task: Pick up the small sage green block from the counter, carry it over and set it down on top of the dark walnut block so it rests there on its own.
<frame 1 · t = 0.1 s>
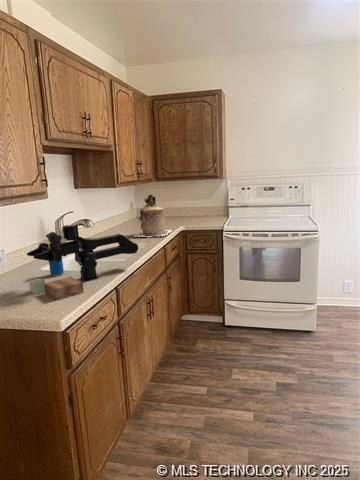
hand: (30, 255, 150), 17 cm above the table, tool horizontal, fingers open, 9 cm apart
cookie jar: (153, 235, 274), on the table
beverage can: (57, 275, 180), on the table
walnut block: (64, 293, 151), on the table
sage green block: (38, 291, 155), on the table
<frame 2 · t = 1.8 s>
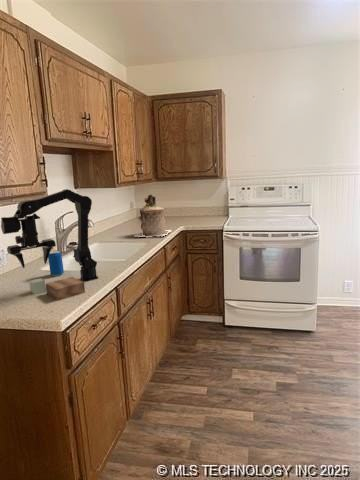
hand: (34, 265, 153), 12 cm above the table, tool pointing down, fingers open, 9 cm apart
nothing on the table moved.
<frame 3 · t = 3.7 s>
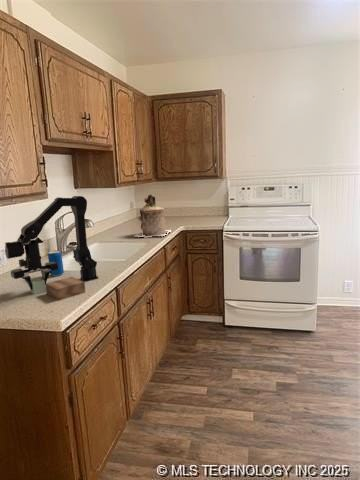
hand: (37, 288, 155), 1 cm above the table, tool pointing down, fingers closed on sage green block, 5 cm apart
sage green block: (38, 291, 155), on the table, touching gripper
everything else where it was.
when the fingers open (7 cm above the table, at t = 7.9 s): sage green block drops 1 cm, resting on walnut block.
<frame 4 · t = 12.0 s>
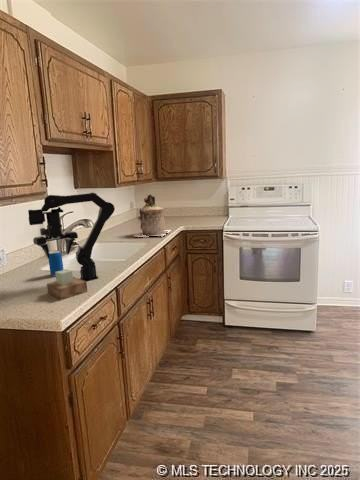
hand: (58, 256, 162), 13 cm above the table, tool pointing down, fingers open, 9 cm apart
walnut block: (67, 293, 151), on the table, touching sage green block
sage green block: (65, 282, 150), point 5 cm above the table, touching walnut block
everything else where it was.
at the end: sage green block inside the target area on the walnut block (0.6 cm from its centre), point 5.0 cm above the walnut block's base; sage green block tilted 0°; the gripper is holding nothing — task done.
